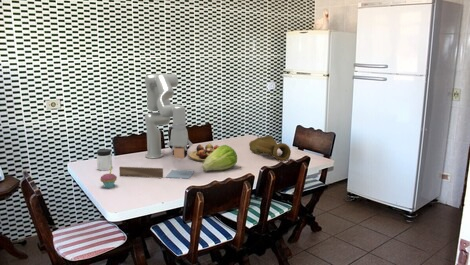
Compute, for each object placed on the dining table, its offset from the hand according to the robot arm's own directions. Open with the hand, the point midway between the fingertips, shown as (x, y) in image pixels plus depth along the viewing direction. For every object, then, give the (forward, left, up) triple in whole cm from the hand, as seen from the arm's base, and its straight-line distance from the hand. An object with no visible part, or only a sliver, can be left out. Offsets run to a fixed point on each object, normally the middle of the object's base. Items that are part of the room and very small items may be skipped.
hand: (180, 156), depth 226 cm
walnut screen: (+6, -22, -12) cm, 26 cm away
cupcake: (+25, -34, -12) cm, 44 cm away
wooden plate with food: (-44, +12, -12) cm, 48 cm away
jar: (-6, -50, -12) cm, 52 cm away
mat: (0, 0, -12) cm, 12 cm away
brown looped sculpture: (-50, +53, -12) cm, 74 cm away
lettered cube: (0, 0, -1) cm, 1 cm away
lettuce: (-15, +21, -12) cm, 29 cm away
